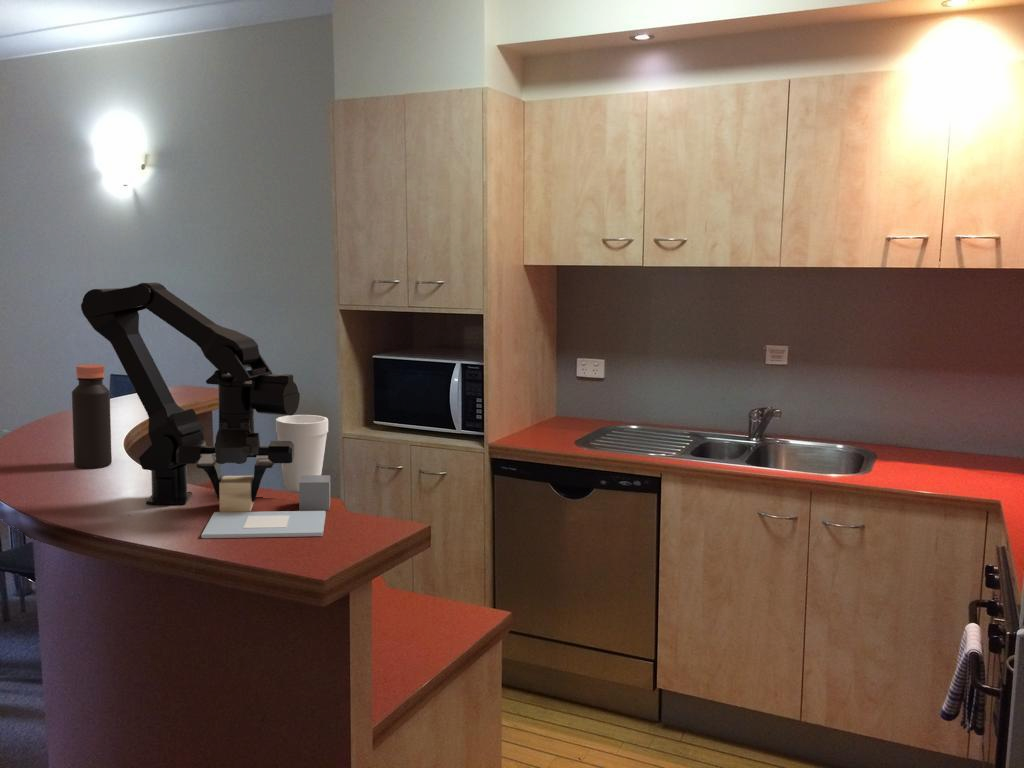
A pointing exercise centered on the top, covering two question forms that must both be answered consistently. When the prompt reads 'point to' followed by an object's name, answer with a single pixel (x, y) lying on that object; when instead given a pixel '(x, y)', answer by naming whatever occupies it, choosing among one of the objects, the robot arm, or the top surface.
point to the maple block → (236, 493)
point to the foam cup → (302, 446)
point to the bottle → (91, 419)
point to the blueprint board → (265, 524)
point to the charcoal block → (314, 492)
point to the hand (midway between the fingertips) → (237, 501)
